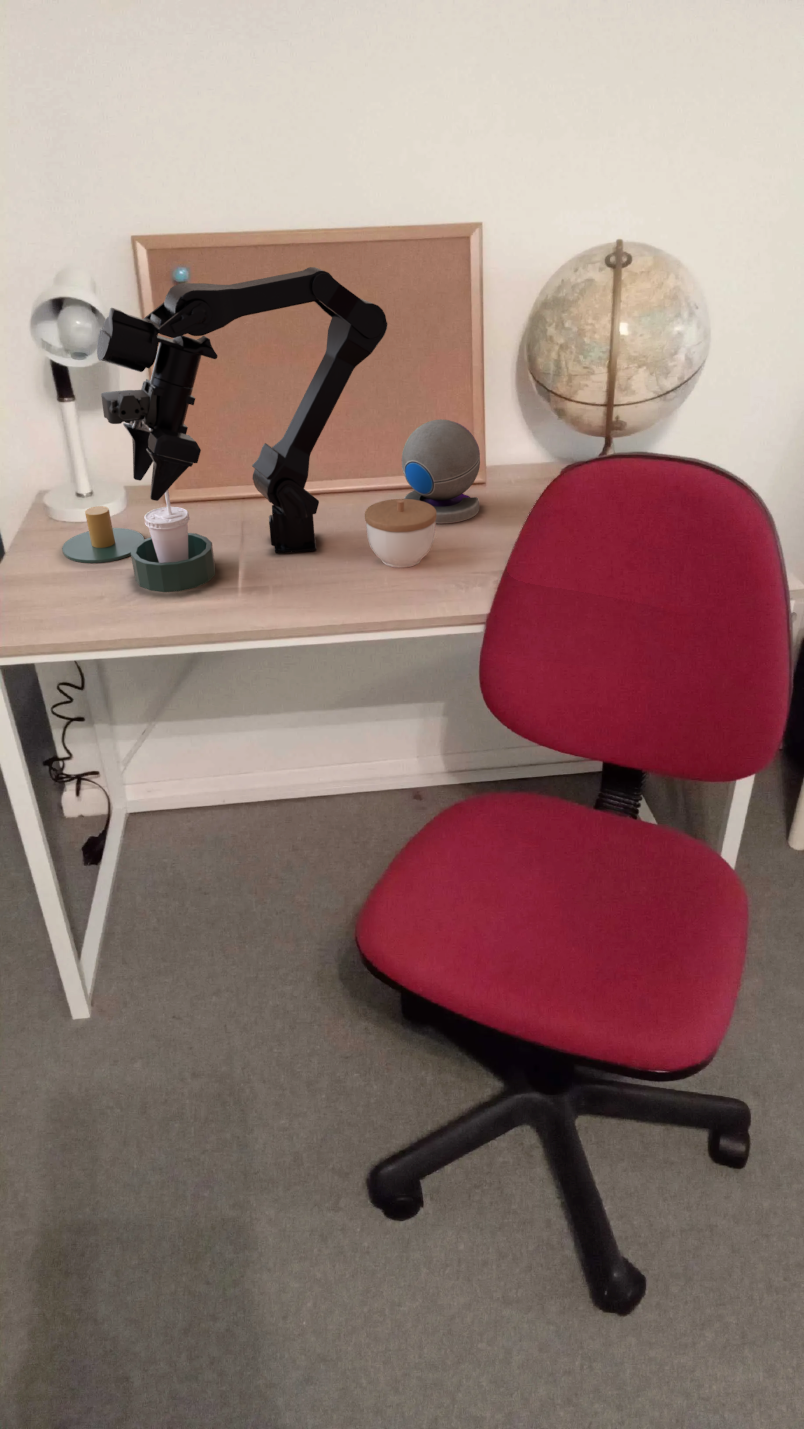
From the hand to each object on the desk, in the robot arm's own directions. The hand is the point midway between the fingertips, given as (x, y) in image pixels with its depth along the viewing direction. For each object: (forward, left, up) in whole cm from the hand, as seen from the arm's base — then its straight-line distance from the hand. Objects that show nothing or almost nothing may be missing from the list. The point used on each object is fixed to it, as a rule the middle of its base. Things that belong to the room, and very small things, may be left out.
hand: (145, 489), depth 142 cm
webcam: (-46, -19, -13) cm, 51 cm away
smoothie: (-3, +2, -13) cm, 14 cm away
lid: (+9, -11, -13) cm, 19 cm away
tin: (-3, +2, -13) cm, 14 cm away
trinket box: (-37, +1, -13) cm, 39 cm away
